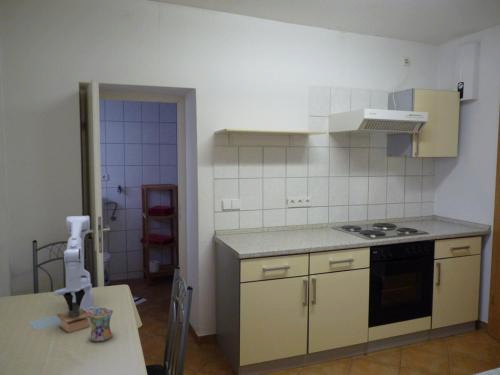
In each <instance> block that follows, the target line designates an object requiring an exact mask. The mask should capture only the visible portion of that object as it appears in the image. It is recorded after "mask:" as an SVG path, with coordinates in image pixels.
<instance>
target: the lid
mask: <svg viewBox="0 0 500 375" xmlns="http://www.w3.org/2000/svg"><path fill="white" fill-rule="evenodd" d="M72 307H73V308H72V311H70V310H69V309H68V311H64V312H59V313H57V314H56V317H57V318H58V319H60V320H61V319H62V320H63V321H64V322H65V323H70V322H73V321H77V320H80V319H84V318H87V319H88V318H89V316H88V312H87V310H83V309H82V308H79V305H78V304H76V303H75V302H73V303H72Z"/></svg>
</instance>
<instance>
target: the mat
mask: <svg viewBox="0 0 500 375" xmlns="http://www.w3.org/2000/svg"><path fill="white" fill-rule="evenodd" d="M27 324H29V326H30V327H32V328H33V329H34V330H35V331H39V330H42V329H46V328H49V327H53V326H54V327H55V326H56V325H61V318H59V317H58V316H57V315H50V316H47V317H42V318H37V319H35V320H31V321H28V322H27Z"/></svg>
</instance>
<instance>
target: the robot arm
mask: <svg viewBox="0 0 500 375" xmlns="http://www.w3.org/2000/svg"><path fill="white" fill-rule="evenodd" d="M90 218H91V217H90V216H89V215H77V216H76V215H74V216H73V215H71V216H70V215H69V216H67V217H66V219H65V223H66V224H65V225H66V227H65V228H66V230H67V232H68V234H69V235H71V236H69V238H68V239H67V244H66V249H65V250H64V252H63V260H64V268H65V287H63V288H60V289H56V290H54V296H55V297H56V298H57V297H59V296H63V298H64V299H65V302H66V304H67V309H68V311H69V310H70V311H72V308H73V307H72V303H73V302H75V303H76V304H78V305H79V308H82V309H83V310H84V311H88V310H93V309H95V305H94V291H93V284H92V283H91V281H92V280H91V274H90V272H89V271H88V270H86V269H85V237H86V235H87V234H89V233H90V226H91V219H90Z"/></svg>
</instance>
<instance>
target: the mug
mask: <svg viewBox="0 0 500 375" xmlns="http://www.w3.org/2000/svg"><path fill="white" fill-rule="evenodd" d="M87 313H88V316H89V317H88V318H89V320H90V324H91V326H90V327H91V330H90V334H89V338H88V339H89V340H91V341H93V342H103V341H106V340H108V339H110V338H112V336H113V333H112V331H111V327H110V324H111V322H110V321H111V319H112V318H111V317H112V315H113V313H114V311H113V309H112V308H110V307H98V308H94V309H90V310H89V311H88V312H87Z"/></svg>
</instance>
